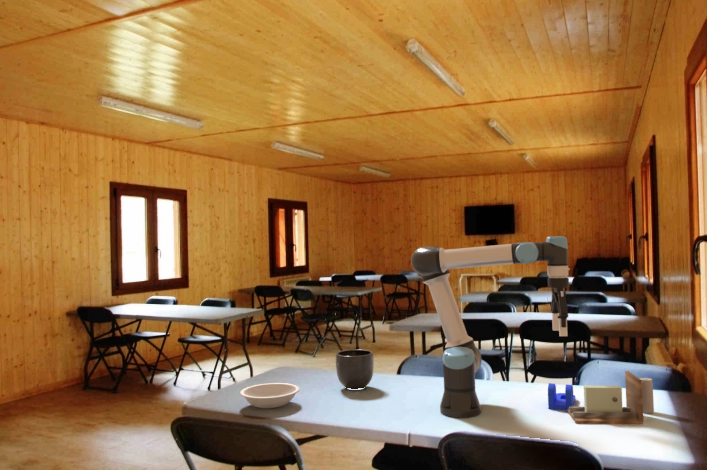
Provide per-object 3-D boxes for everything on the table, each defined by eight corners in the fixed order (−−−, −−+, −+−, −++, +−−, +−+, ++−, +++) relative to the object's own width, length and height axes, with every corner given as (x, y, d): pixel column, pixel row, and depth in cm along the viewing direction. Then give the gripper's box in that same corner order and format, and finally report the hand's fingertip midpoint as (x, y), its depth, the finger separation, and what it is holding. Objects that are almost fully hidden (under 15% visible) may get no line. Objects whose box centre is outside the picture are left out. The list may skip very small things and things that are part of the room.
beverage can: (648, 414, 206) (646, 381, 206) (636, 411, 210) (634, 378, 210) (656, 412, 208) (655, 379, 208) (644, 409, 212) (643, 376, 212)
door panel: (587, 416, 203) (586, 388, 203) (584, 413, 206) (583, 385, 206) (623, 416, 201) (622, 388, 201) (620, 413, 204) (619, 385, 204)
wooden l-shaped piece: (575, 423, 199) (574, 379, 199) (567, 411, 212) (565, 371, 213) (643, 424, 195) (641, 380, 195) (630, 412, 209) (628, 371, 209)
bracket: (571, 411, 213) (570, 387, 213) (548, 409, 217) (547, 385, 217) (576, 399, 229) (575, 376, 229) (554, 397, 233) (553, 375, 233)
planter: (375, 392, 249) (373, 355, 249) (335, 394, 249) (334, 357, 249) (374, 383, 266) (373, 348, 266) (337, 384, 266) (336, 349, 266)
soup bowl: (228, 408, 232) (228, 391, 232) (274, 395, 250) (274, 380, 250) (265, 418, 216) (265, 401, 216) (312, 404, 234) (311, 388, 234)
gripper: (575, 278, 204) (577, 338, 204) (561, 274, 229) (563, 328, 228) (553, 279, 205) (555, 338, 205) (542, 275, 230) (544, 328, 230)
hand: (559, 333), depth 217 cm, fingers open, 13 cm apart
